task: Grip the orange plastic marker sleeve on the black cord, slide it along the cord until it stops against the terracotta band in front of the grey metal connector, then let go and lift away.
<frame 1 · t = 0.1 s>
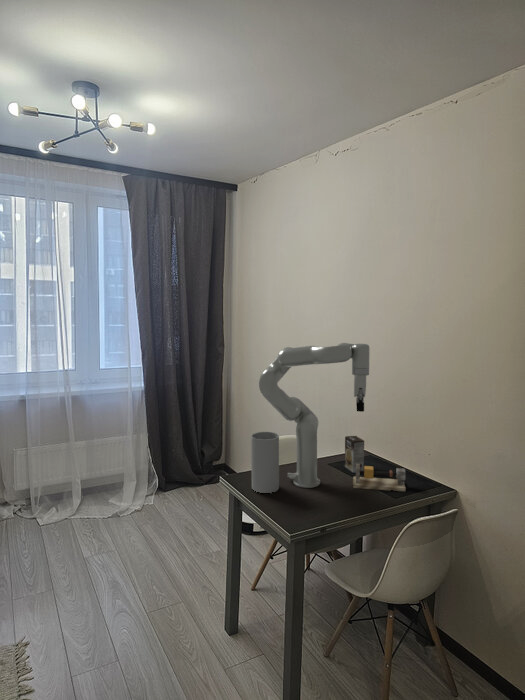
hand: (360, 408, 208), 37 cm above the table, tool pointing down, fingers open, 9 cm apart
cylinder vase: (265, 489, 210), on the table
coffee box: (354, 469, 234), on the table
cord rig: (378, 485, 213), on the table
marker sleeve: (368, 472, 213), point 6 cm above the table, slide at 0.0 cm
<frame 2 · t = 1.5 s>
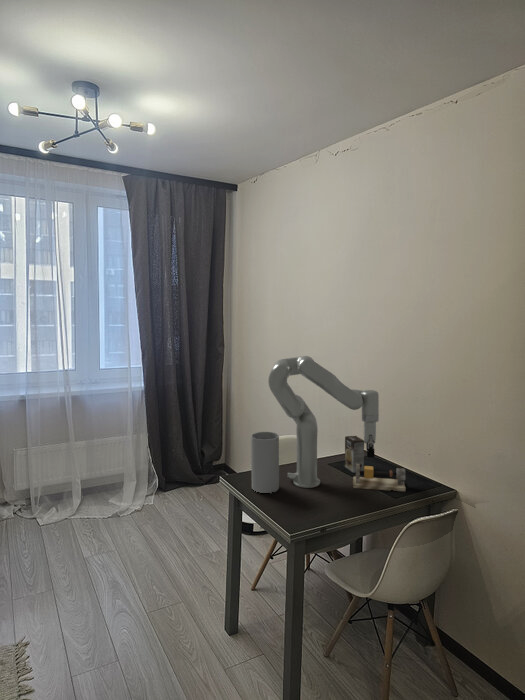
hand: (370, 453, 212), 15 cm above the table, tool pointing down, fingers open, 9 cm apart
nothing on the table moved.
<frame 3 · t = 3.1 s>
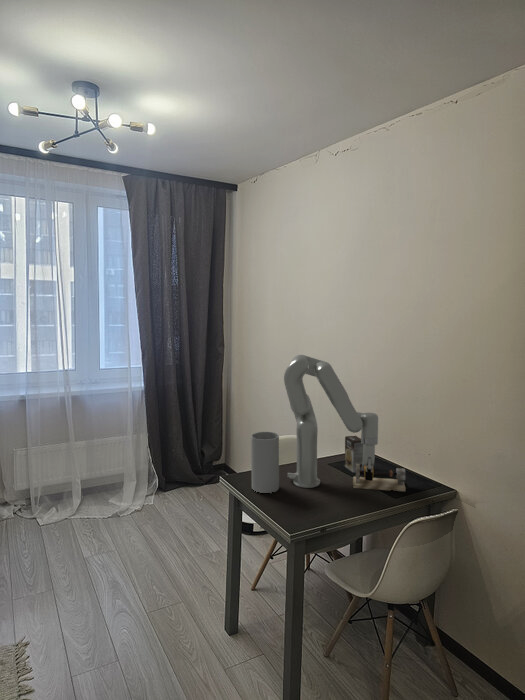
hand: (368, 477, 214), 3 cm above the table, tool pointing down, fingers closed on marker sleeve, 4 cm apart
marker sleeve: (368, 472, 213), point 6 cm above the table, slide at 0.0 cm, touching gripper
everything else where it was.
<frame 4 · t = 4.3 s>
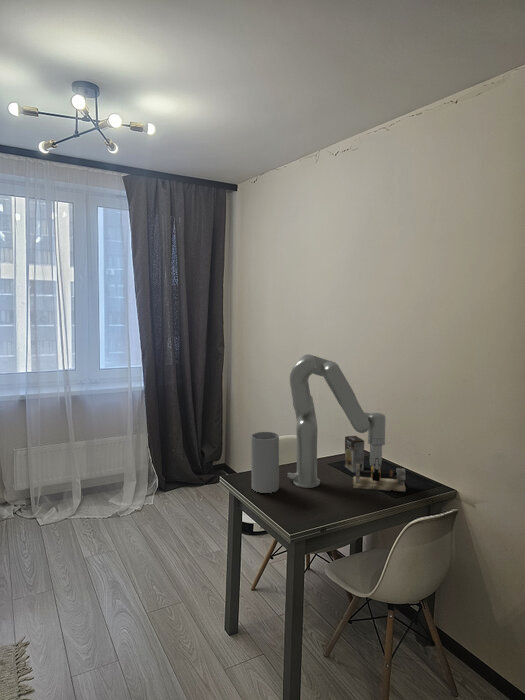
hand: (375, 478, 213), 3 cm above the table, tool pointing down, fingers closed on marker sleeve, 4 cm apart
marker sleeve: (375, 472, 213), point 6 cm above the table, slide at 3.2 cm, touching gripper
everything else where it was.
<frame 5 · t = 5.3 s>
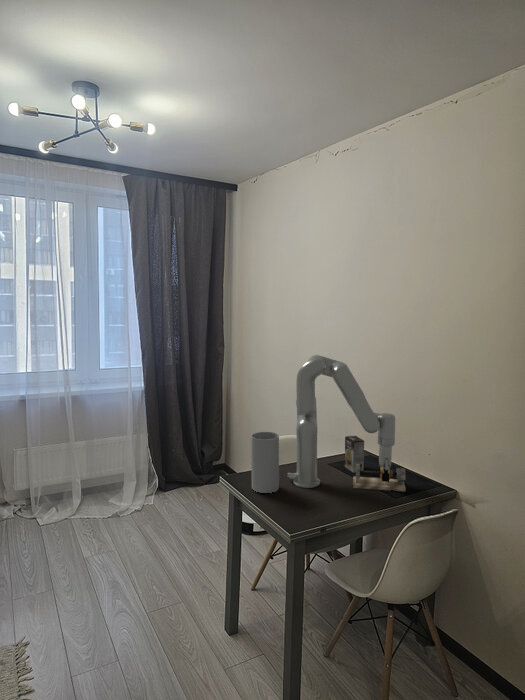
hand: (385, 478, 212), 3 cm above the table, tool pointing down, fingers closed on marker sleeve, 4 cm apart
marker sleeve: (385, 473, 212), point 6 cm above the table, slide at 7.4 cm, touching cord rig, gripper
everything else where it was.
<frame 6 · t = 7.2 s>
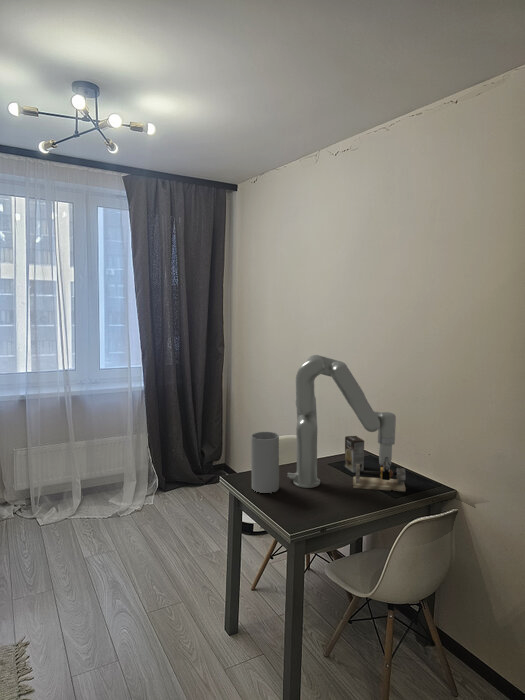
hand: (385, 475, 212), 5 cm above the table, tool pointing down, fingers open, 9 cm apart
marker sleeve: (385, 473, 212), point 6 cm above the table, slide at 7.4 cm, touching cord rig
everything else where it was.
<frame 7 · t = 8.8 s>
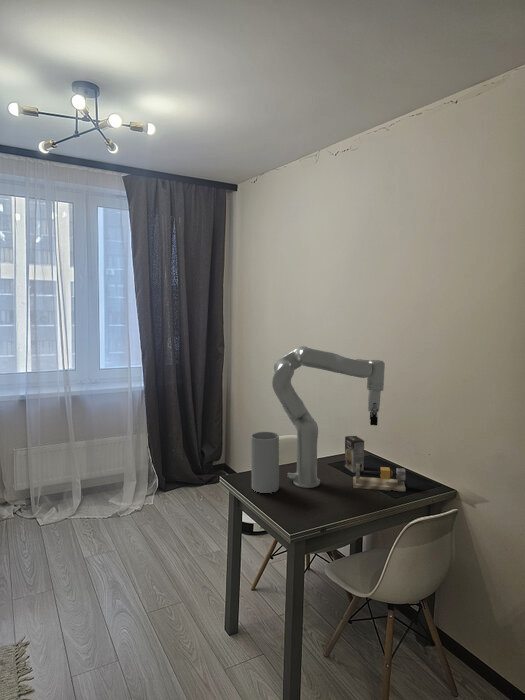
hand: (373, 422, 216), 28 cm above the table, tool pointing down, fingers open, 9 cm apart
nothing on the table moved.
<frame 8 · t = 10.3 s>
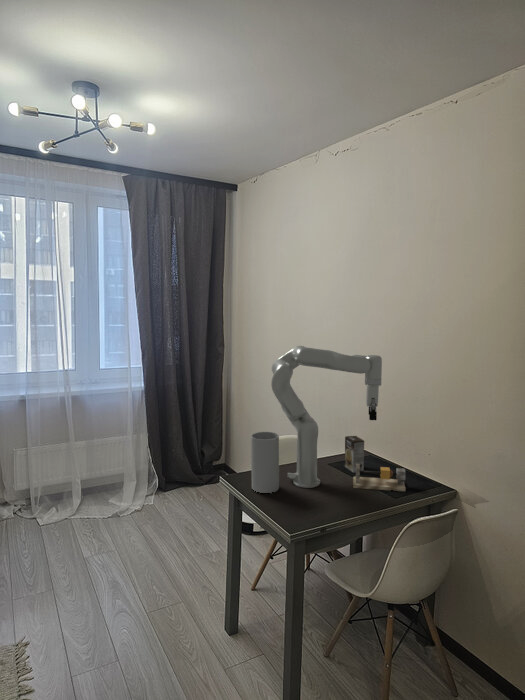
hand: (372, 417, 217), 30 cm above the table, tool pointing down, fingers open, 9 cm apart
nothing on the table moved.
at the end: marker sleeve slide at 7.4 cm; the gripper is holding nothing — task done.
